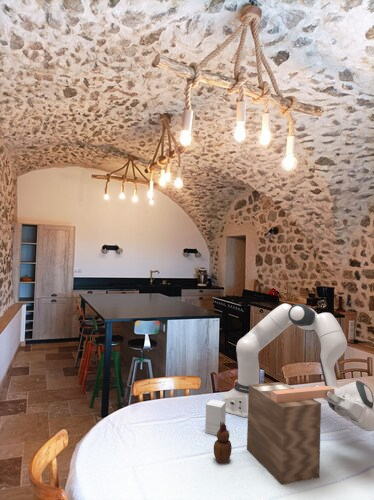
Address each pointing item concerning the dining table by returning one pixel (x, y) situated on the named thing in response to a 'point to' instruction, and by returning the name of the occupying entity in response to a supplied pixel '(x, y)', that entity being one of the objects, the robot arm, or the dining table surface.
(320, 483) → the dining table surface
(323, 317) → the robot arm
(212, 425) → the supplement box
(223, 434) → the wooden figurine
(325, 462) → the dining table surface
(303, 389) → the terracotta bar
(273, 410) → the walnut pedestal
